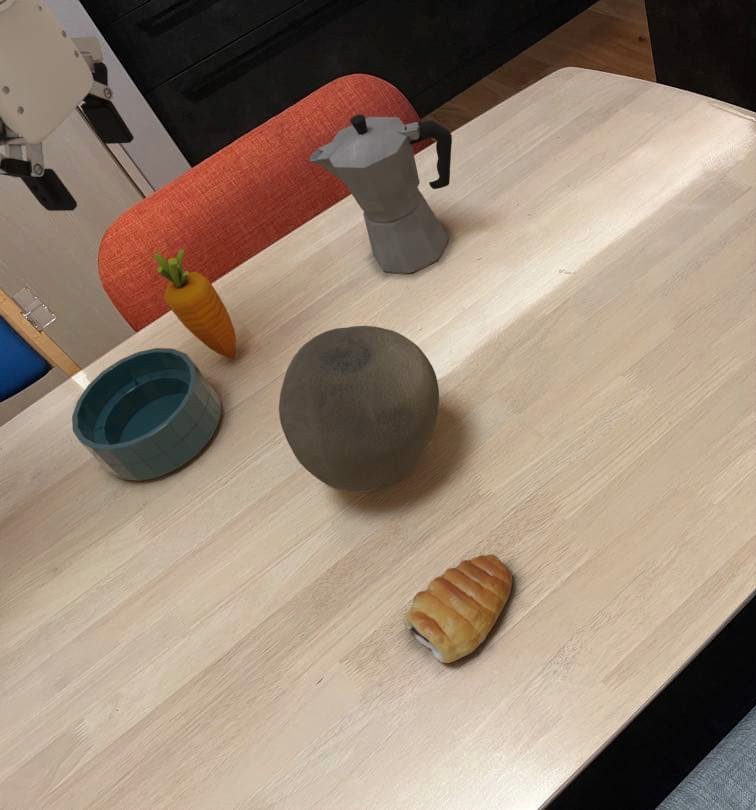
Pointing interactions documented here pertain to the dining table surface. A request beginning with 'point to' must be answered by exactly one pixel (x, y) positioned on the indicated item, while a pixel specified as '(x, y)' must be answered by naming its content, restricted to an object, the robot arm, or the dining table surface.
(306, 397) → the brown coconut
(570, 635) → the dining table surface
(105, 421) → the bowl
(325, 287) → the dining table surface
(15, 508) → the dining table surface
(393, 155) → the coffeepot
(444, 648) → the pastry
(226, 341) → the carrot
